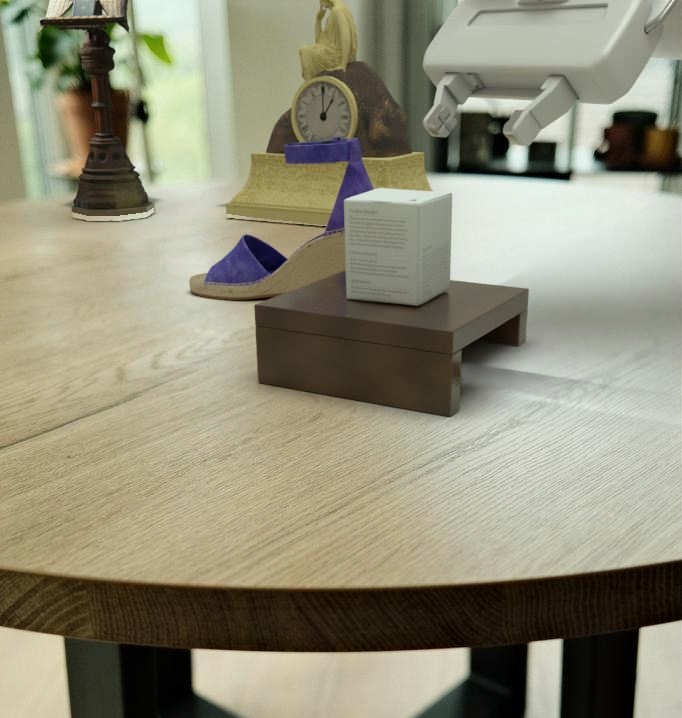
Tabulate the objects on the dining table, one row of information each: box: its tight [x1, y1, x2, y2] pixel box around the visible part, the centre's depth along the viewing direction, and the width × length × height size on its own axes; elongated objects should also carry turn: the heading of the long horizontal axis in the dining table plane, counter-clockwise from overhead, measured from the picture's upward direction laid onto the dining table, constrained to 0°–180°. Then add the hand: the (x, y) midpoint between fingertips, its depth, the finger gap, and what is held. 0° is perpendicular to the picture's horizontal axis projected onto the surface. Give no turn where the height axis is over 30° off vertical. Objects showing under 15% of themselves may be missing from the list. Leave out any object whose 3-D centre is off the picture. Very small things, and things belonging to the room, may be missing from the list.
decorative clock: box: [225, 0, 433, 225], centre depth 138 cm, size 28×13×30 cm, turn 60°
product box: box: [344, 188, 453, 306], centre depth 75 cm, size 6×6×7 cm
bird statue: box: [37, 0, 156, 216], centre depth 140 cm, size 17×13×35 cm
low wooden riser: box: [253, 270, 530, 417], centre depth 78 cm, size 16×14×6 cm
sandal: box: [188, 137, 374, 301], centre depth 100 cm, size 8×20×15 cm, turn 68°
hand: (471, 135), depth 74 cm, fingers open, 8 cm apart
